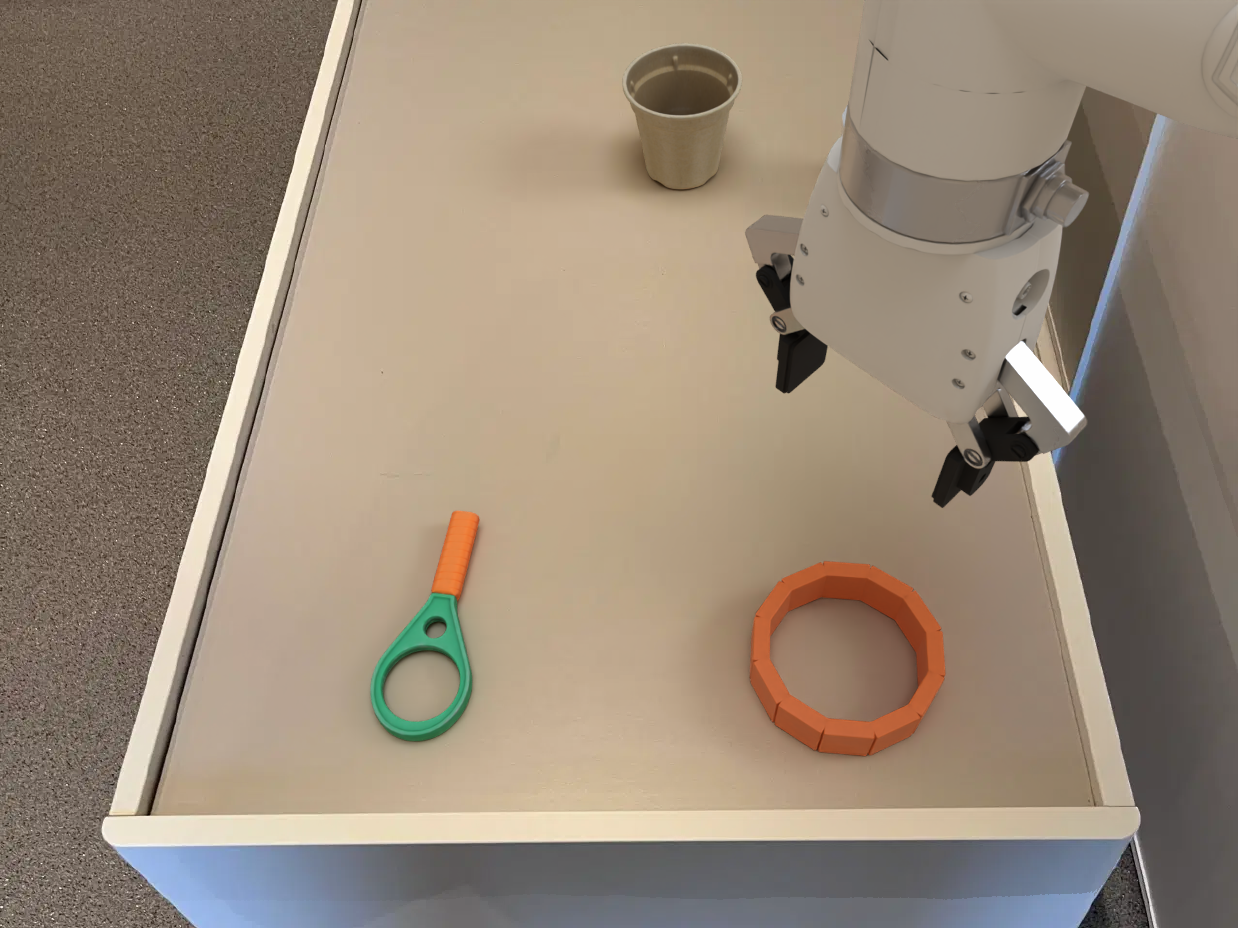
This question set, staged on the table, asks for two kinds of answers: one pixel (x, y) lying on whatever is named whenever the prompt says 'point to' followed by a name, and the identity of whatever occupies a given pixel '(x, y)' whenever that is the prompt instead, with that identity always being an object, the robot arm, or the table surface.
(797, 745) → the table surface
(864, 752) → the ring
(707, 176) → the flower pot
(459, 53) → the table surface
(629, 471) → the table surface
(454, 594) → the magnifying glass
